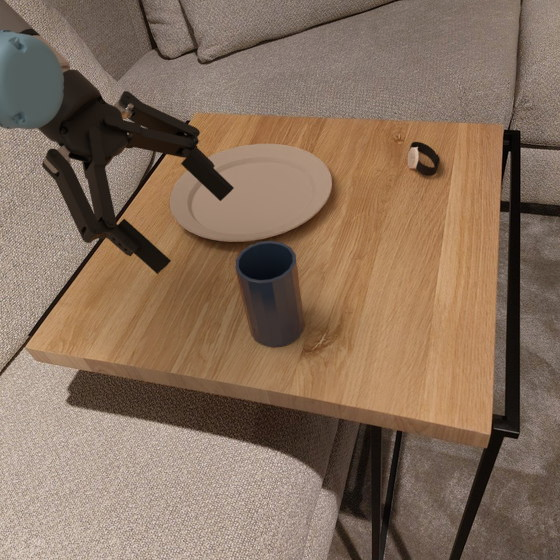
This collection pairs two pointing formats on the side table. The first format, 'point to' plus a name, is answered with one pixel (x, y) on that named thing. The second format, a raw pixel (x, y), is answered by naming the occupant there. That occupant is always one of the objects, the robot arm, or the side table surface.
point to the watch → (415, 163)
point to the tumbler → (271, 292)
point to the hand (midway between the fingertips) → (198, 229)
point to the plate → (254, 193)
